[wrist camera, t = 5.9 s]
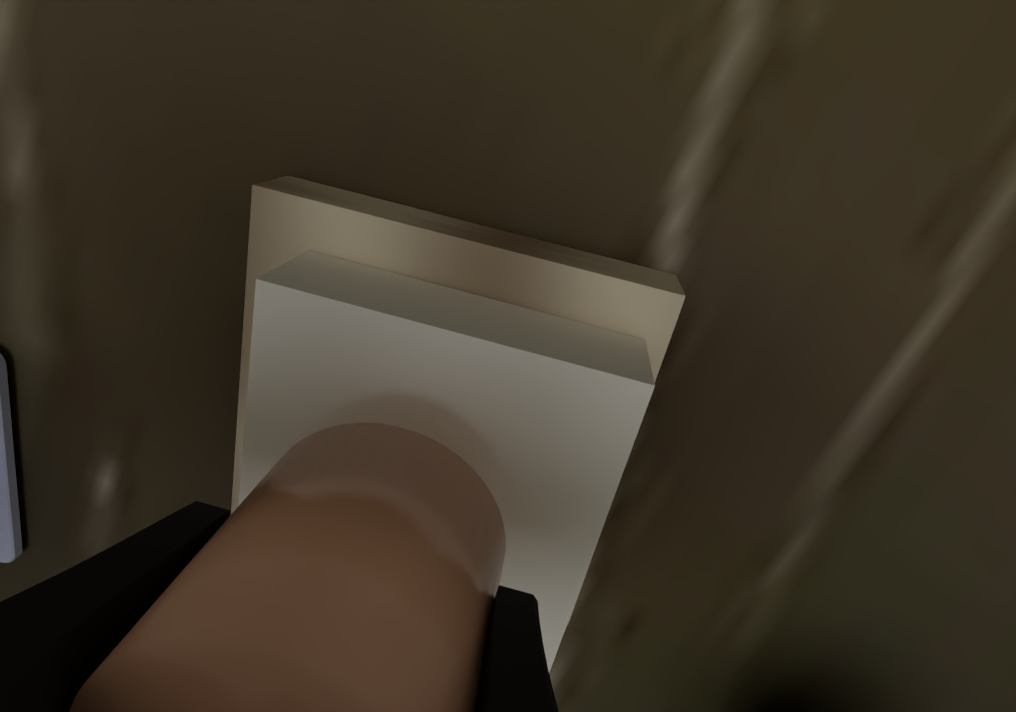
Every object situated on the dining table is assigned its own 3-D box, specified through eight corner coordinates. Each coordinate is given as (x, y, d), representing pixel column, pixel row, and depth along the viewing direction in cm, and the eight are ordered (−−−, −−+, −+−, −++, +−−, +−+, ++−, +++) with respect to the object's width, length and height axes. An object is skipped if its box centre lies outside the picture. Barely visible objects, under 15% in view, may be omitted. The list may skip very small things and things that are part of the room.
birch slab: (270, 483, 21) (229, 532, 18) (299, 172, 17) (252, 185, 14) (570, 564, 20) (568, 624, 18) (672, 268, 16) (685, 296, 14)
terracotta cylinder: (258, 598, 13) (80, 863, 9) (267, 396, 11) (48, 595, 7) (481, 653, 13) (422, 953, 8) (528, 456, 11) (484, 704, 7)
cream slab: (278, 522, 18) (232, 585, 16) (308, 250, 15) (255, 278, 12) (554, 598, 18) (548, 674, 15) (644, 339, 14) (654, 385, 12)
